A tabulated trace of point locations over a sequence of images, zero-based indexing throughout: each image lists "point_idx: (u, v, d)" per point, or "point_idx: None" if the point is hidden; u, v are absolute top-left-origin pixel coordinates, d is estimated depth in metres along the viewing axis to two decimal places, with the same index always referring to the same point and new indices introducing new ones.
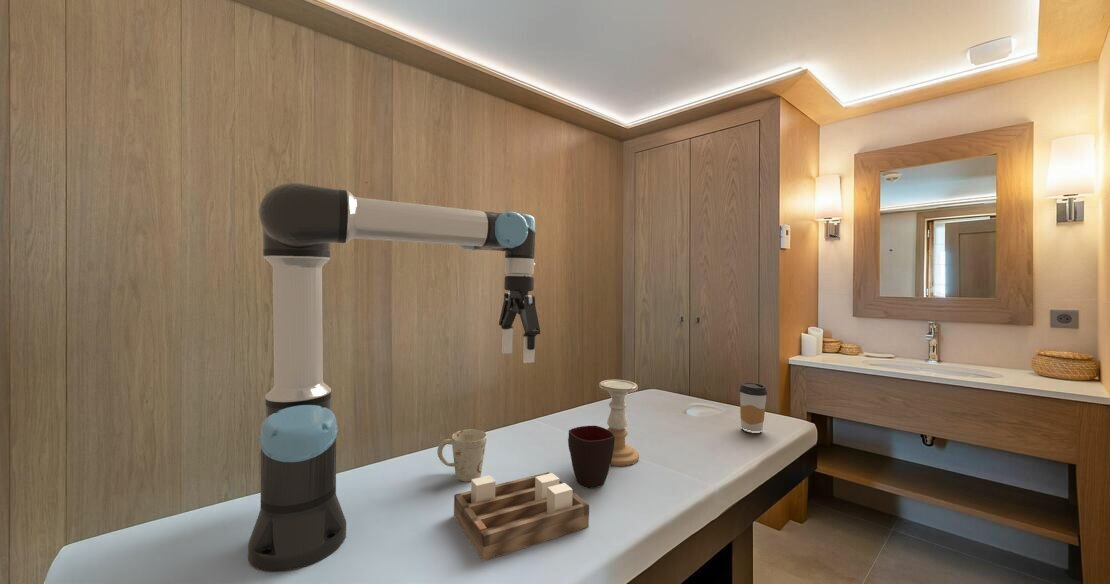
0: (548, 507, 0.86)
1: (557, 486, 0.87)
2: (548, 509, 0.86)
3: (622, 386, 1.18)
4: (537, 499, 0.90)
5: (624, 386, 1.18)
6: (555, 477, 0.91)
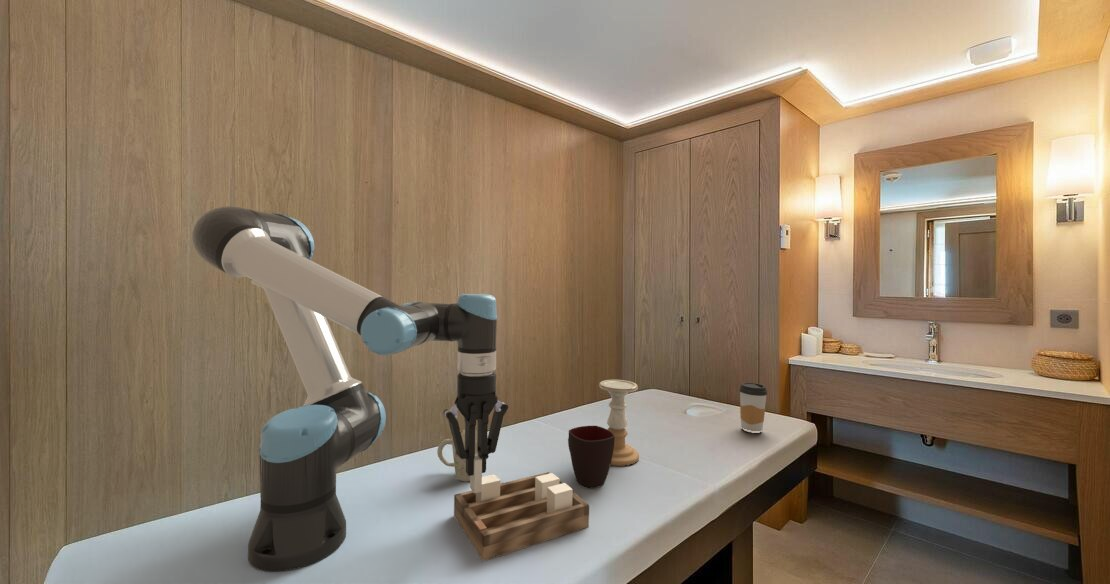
0: (548, 507, 0.86)
1: (557, 486, 0.87)
2: (548, 509, 0.86)
3: (622, 386, 1.18)
4: (537, 499, 0.90)
5: (624, 386, 1.18)
6: (555, 477, 0.91)
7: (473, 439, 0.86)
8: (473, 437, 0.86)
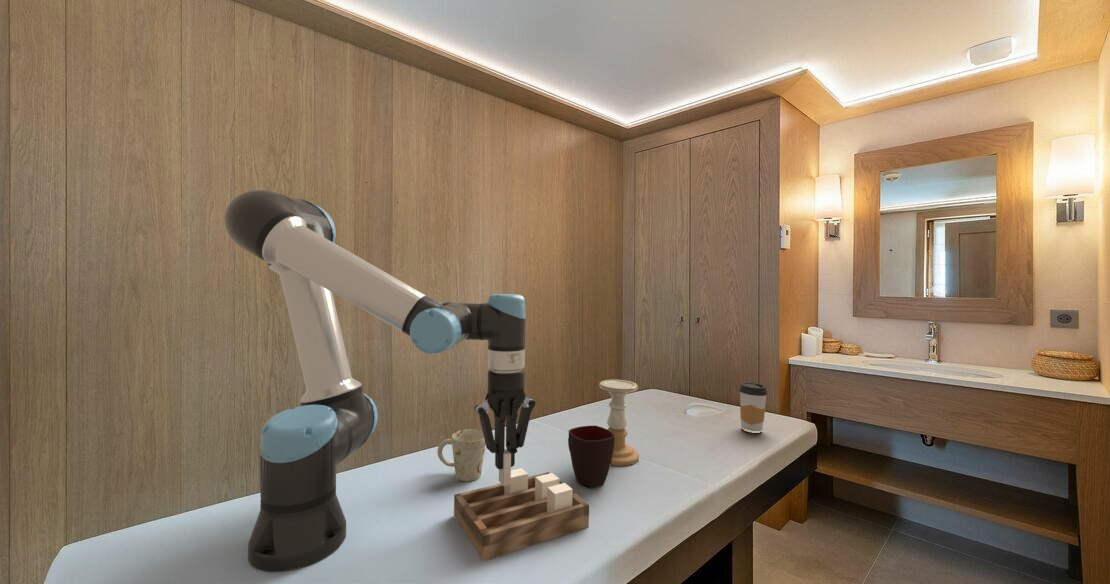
0: (548, 507, 0.86)
1: (557, 486, 0.87)
2: (548, 509, 0.86)
3: (622, 386, 1.18)
4: (537, 499, 0.90)
5: (624, 386, 1.18)
6: (555, 477, 0.91)
7: (503, 434, 0.89)
8: (503, 432, 0.89)
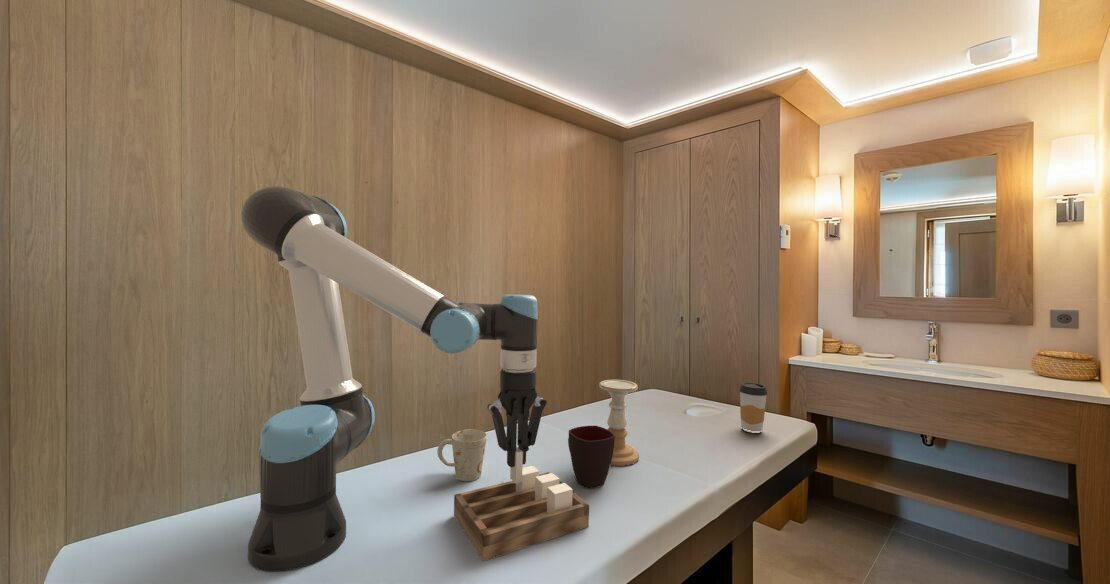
0: (548, 507, 0.86)
1: (557, 486, 0.87)
2: (548, 509, 0.86)
3: (622, 386, 1.18)
4: (537, 499, 0.90)
5: (624, 386, 1.18)
6: (555, 477, 0.91)
7: (515, 432, 0.90)
8: (515, 430, 0.90)
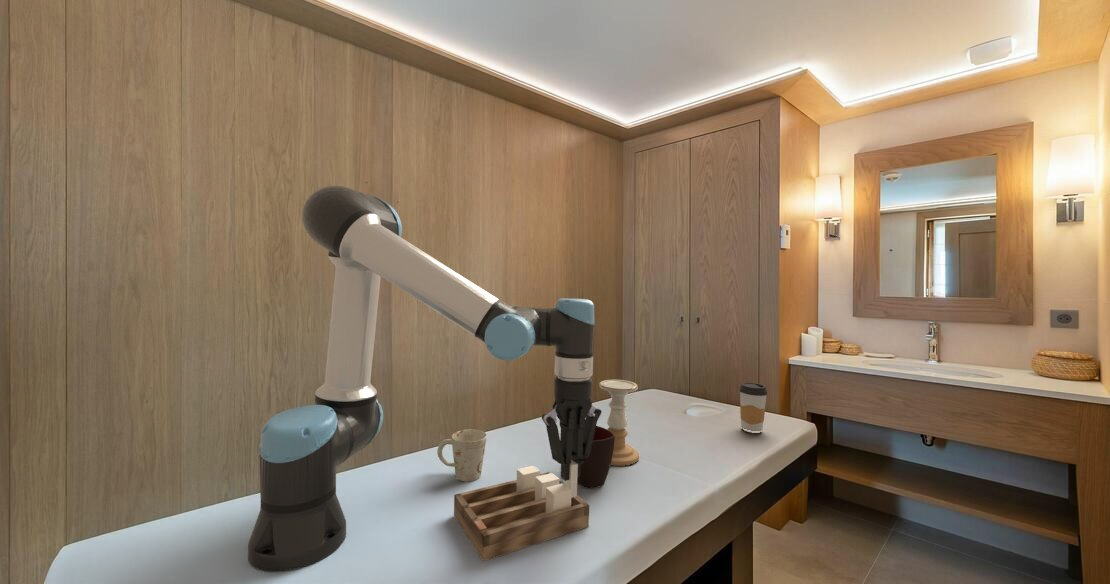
0: (547, 507, 0.86)
1: (556, 486, 0.87)
2: (547, 509, 0.86)
3: (622, 386, 1.18)
4: (537, 499, 0.90)
5: (624, 386, 1.18)
6: (555, 477, 0.91)
7: (570, 444, 0.86)
8: (570, 442, 0.86)
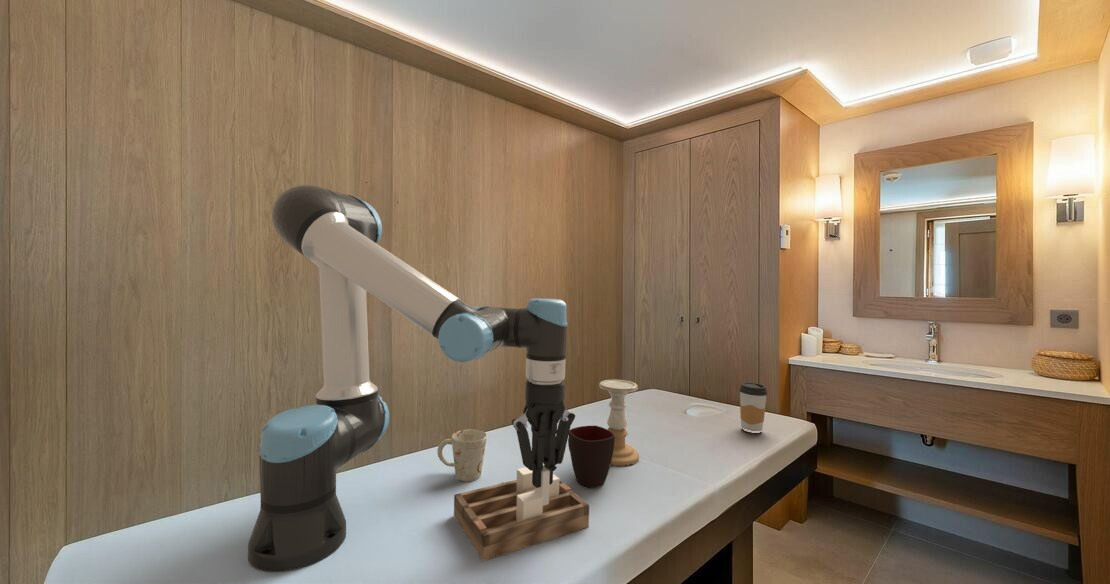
0: (517, 516, 0.83)
1: (527, 494, 0.83)
2: (517, 518, 0.83)
3: (622, 386, 1.18)
4: None
5: (624, 386, 1.18)
6: (555, 477, 0.91)
7: (542, 450, 0.82)
8: (542, 448, 0.82)
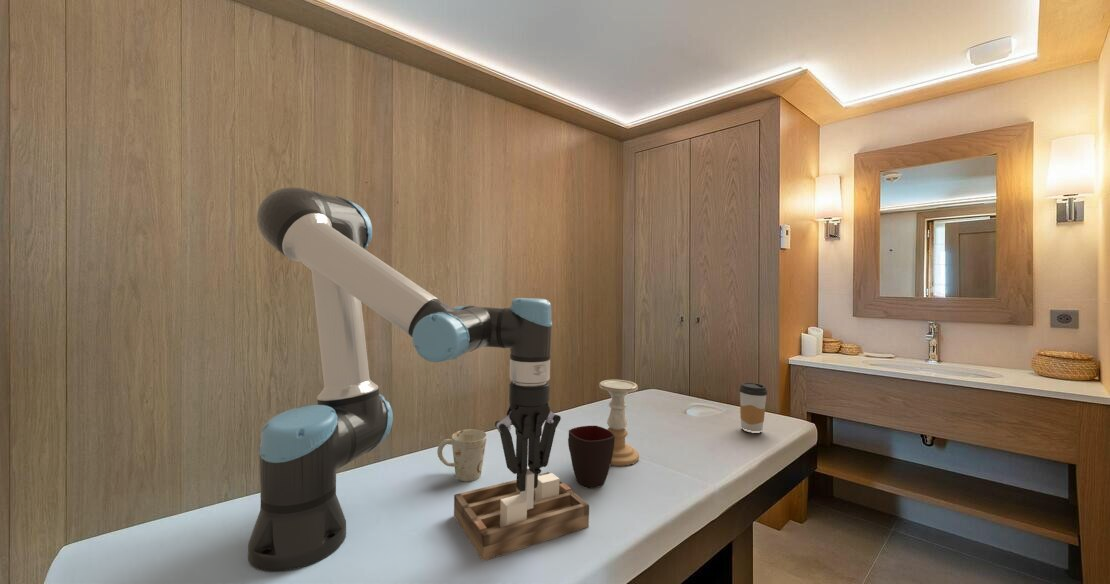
0: (501, 520, 0.81)
1: (511, 498, 0.82)
2: (501, 523, 0.81)
3: (622, 386, 1.18)
4: (537, 499, 0.90)
5: (624, 386, 1.18)
6: (555, 477, 0.91)
7: (526, 452, 0.81)
8: (526, 450, 0.81)
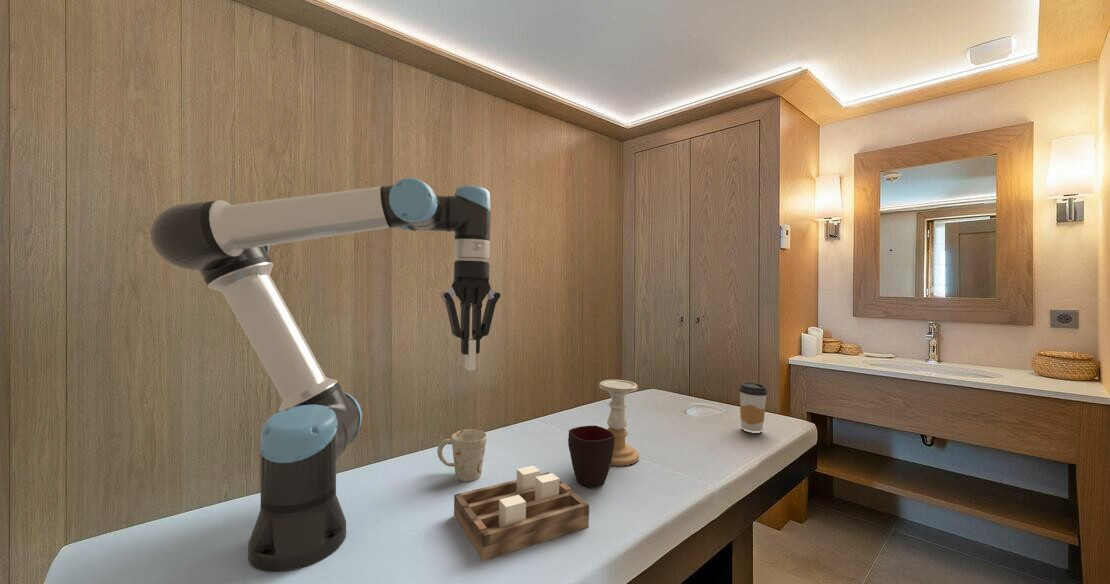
0: (500, 521, 0.81)
1: (510, 498, 0.82)
2: (500, 523, 0.81)
3: (622, 386, 1.18)
4: (537, 499, 0.90)
5: (624, 386, 1.18)
6: (555, 477, 0.91)
7: (468, 320, 0.94)
8: (468, 318, 0.94)
